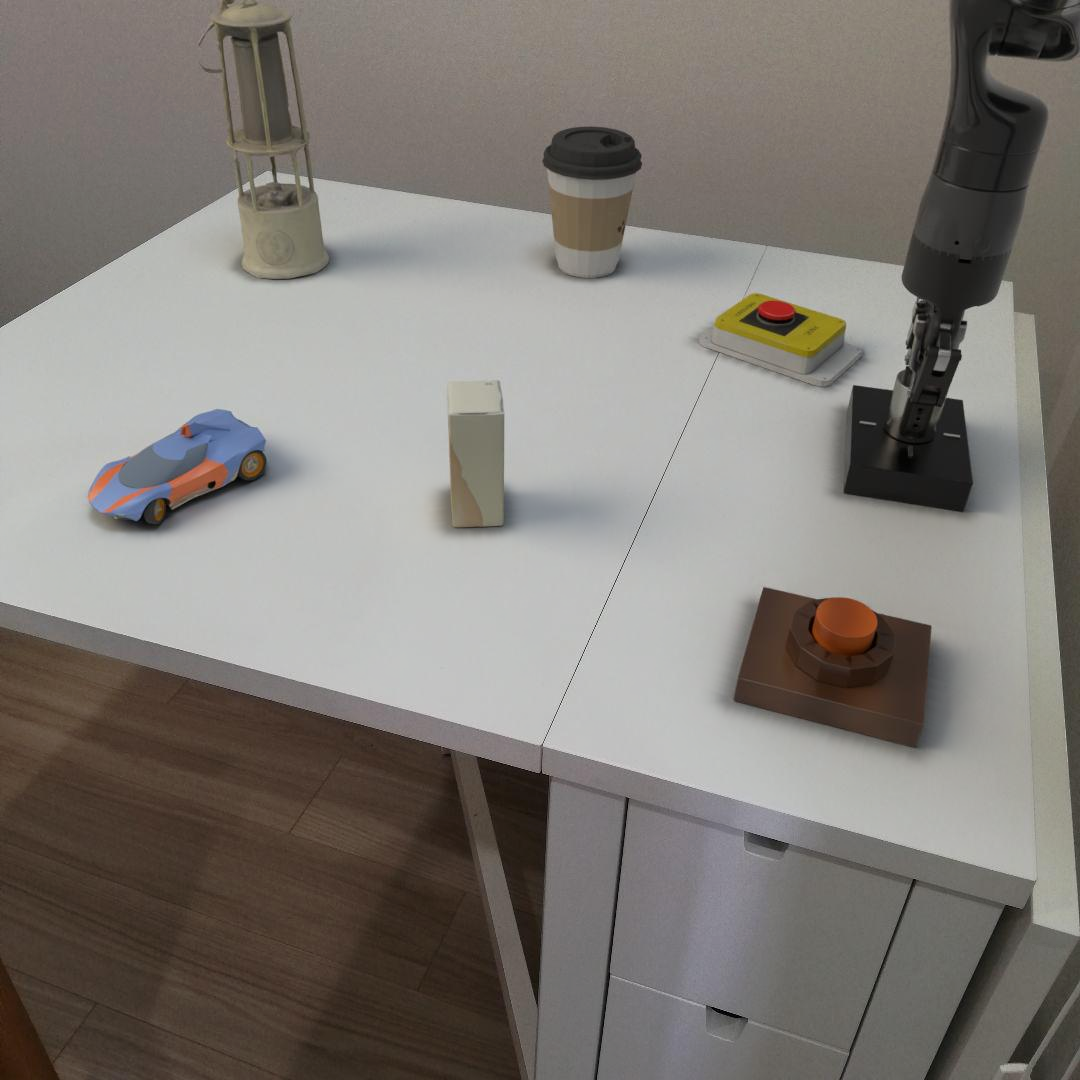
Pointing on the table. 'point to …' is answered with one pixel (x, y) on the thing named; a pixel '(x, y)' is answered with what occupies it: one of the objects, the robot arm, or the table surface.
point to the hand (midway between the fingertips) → (910, 419)
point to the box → (476, 452)
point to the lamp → (269, 144)
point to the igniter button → (844, 626)
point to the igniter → (836, 671)
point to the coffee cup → (590, 196)
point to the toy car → (180, 467)
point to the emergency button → (783, 339)
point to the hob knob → (898, 407)
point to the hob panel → (906, 455)
